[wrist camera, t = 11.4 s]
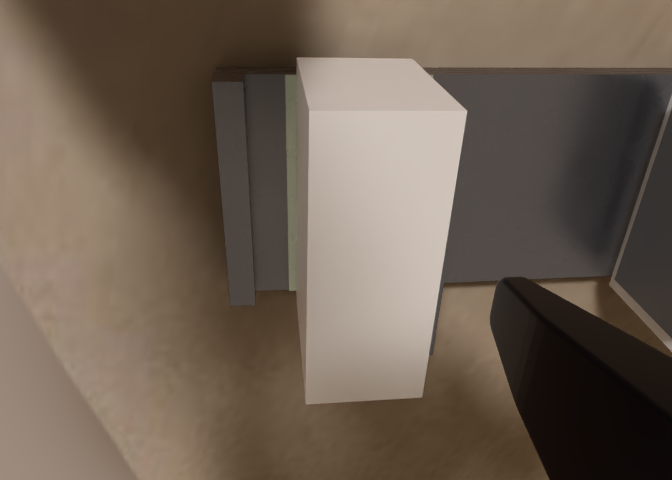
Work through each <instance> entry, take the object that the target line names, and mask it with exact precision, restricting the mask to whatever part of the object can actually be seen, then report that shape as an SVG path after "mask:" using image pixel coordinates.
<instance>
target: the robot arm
mask: <svg viewBox="0 0 672 480" xmlns="http://www.w3.org/2000/svg"><path fill="white" fill-rule="evenodd" d="M490 325H491V330H492V333H493V336H494V339H495V342H496V346H497V349H498V352H499V355H500V358H501V361H502V364H503V367H504V371H505V374H506V377H507V380H508V383H509V386H510V389H511V392H512V395H513V398H514V401H515V404H516V406H517V408H518V411H519V413H520V415H521V418H522V420H523V422H524V424H525V426H526V429H527V431H528V433H529V435H530V438H531V440H532V442H533V444H534V446H535V449H536V451H537V453H538V455H539V457H540V460H541V462H542V464H543V466H544V468H545V471H546V473H547V475H548V477H549V479H550V480H672V358H671V357H669V356H668V355H666V354H664V353H662V352H660V351H658V350H657V349H655V348H653V347H651V346H649V345H647V344H646V343H644V342H642V341H640V340H638V339H636V338H635V337H633V336H631V335H629V334H627V333H626V332H624V331H622V330H620V329H618V328H616V327H615V326H613V325H611V324H609V323H607V322H605V321H604V320H602V319H600V318H598V317H596V316H594V315H593V314H591V313H589V312H587V311H585V310H583V309H582V308H580V307H578V306H576V305H574V304H572V303H571V302H569V301H567V300H565V299H563V298H561V297H560V296H558V295H556V294H554V293H552V292H550V291H549V290H547V289H545V288H543V287H541V286H539V285H538V284H536V283H534V282H532V281H530V280H529V279H527V278H525V277H521V276H519V277H503V278H501V279H499V280H498V282H497V285H496V289H495V294H494V299H493V303H492V308H491V313H490Z"/></svg>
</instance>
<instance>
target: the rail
mask: <svg viewBox="0 0 672 480" xmlns="http://www.w3.org/2000/svg"><path fill="white" fill-rule="evenodd" d="M423 69H424V70H425V71H426V72H427V73H428V74H429V75H430V76H431V77H432V78H433V79H434V80H435V81H436V82H437V83H438V84H439V85H440V86H442V87H443V88H444V89H445V90H446V91H447V92H448V93H449V94H450V95H451V96H452V97H453V98H454V99H455V100H456V101H457V102H458V103H459V104H461V105H462V106H463V107H464V108H465V109H466V110H467V116H466V122H465V129H464V132H465V133H466V134H467V135H468V137H467V143H466V149H465V156H464V162H463V168H462V174H461V180H460V187H459V193H458V199H457V205H456V211H455V218H454V224H453V230H452V236H451V242H450V249H449V255H448V261H447V267H446V273H445V280H444V283H455V282H479V281H498V280H499V279H501V278H503V277H519V276H521V277H525V278H527V279H549V278H572V277H596V276H612V274H613V271H614V268H615V265H616V262H617V259H618V255H619V252H620V249H621V246H622V243H623V240H624V237H625V234H626V231H627V228H628V225H629V222H630V219H631V216H632V213H633V210H634V207H635V204H636V201H637V198H638V195H639V192H640V189H641V186H642V183H643V180H644V177H645V174H646V171H647V168H648V165H649V162H650V159H651V156H652V153H653V150H654V147H655V144H656V141H657V138H658V135H659V132H660V129H661V126H662V122H663V119H664V116H665V113H666V110H667V107H668V104H669V101H670V98H671V95H672V68H423ZM296 88H297V68H228V67H216V69H215V73H214V76H213V79H212V92H213V104H214V116H215V128H216V140H217V152H218V164H219V176H220V188H221V200H222V211H223V223H224V235H225V247H226V259H227V271H228V283H229V295H230V306H251V305H255V303H256V291H268V290H289V291H296Z"/></svg>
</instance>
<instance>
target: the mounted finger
mask: <svg viewBox="0 0 672 480" xmlns="http://www.w3.org/2000/svg"><path fill="white" fill-rule="evenodd" d="M609 286H610V287H611V288H612V289H613V290H614V291H615V292H616V293H617V294H618V295H619V296H620V297H621V298H622V300H623V301H624V302H625V303H626V304H627V305H628V306H629V307H630V308H631V309H632V310H633V311H634V312H635V313H636V314H637V315H638V317H639V318H640V319H641V320H642V321H643V322H644V323H645V324H646V325H647V326H648V327H649V328H650V329H651V330H652V331H653V333H654V334H655V335H656V336H657V337H658V338H659V339H660V340H661V341H662V342H663V343H664V344H665V345H666V346H667V347H668V348H669V350H670V351H671V352H672V95H671V98H670V101H669V104H668V107H667V110H666V113H665V116H664V119H663V122H662V126H661V129H660V132H659V135H658V138H657V141H656V144H655V147H654V150H653V153H652V156H651V159H650V162H649V165H648V168H647V171H646V174H645V177H644V180H643V183H642V186H641V189H640V192H639V195H638V198H637V201H636V204H635V207H634V210H633V213H632V216H631V219H630V222H629V225H628V228H627V231H626V234H625V237H624V240H623V243H622V246H621V249H620V252H619V255H618V259H617V262H616V265H615V268H614V271H613V274H612V277H611V280H610V283H609Z"/></svg>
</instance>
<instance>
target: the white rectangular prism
mask: <svg viewBox="0 0 672 480" xmlns="http://www.w3.org/2000/svg"><path fill="white" fill-rule="evenodd" d="M466 116H467V110H466V109H465V108H464V107H463V106H462V105H461V104H459V103H458V102H457V101H456V100H455V99H454V98H453V97H452V96H451V95H450V94H449V93H448V92H447V91H446V90H445V89H444V88H443V87H442V86H440V85H439V84H438V83H437V82H436V81H435V80H434V79H433V78H432V77H431V76H430V75H429V74H428V73H427V72H426V71H425V70H424V69H423V68H422V67H420V66H419V65H418V64H417V63H416V62H415V61H414V60H413V59H385V58H309V57H297V88H296V301H297V312H298V324H299V335H300V347H301V358H302V370H303V381H304V393H305V404H322V403H339V402H356V401H373V400H390V399H406V398H422V396H423V389H424V383H425V377H426V370H427V364H428V358H429V355H432V354H433V348H434V342H435V335H436V329H437V323H438V317H439V311H440V304H441V298H442V292H443V286H444V280H445V273H446V267H447V261H448V255H449V249H450V242H451V236H452V230H453V224H454V218H455V211H456V205H457V199H458V193H459V187H460V180H461V174H462V168H463V162H464V156H465V149H466V143H467V137H468V135H467V134H466V133H465V132H464V129H465V122H466Z"/></svg>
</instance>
